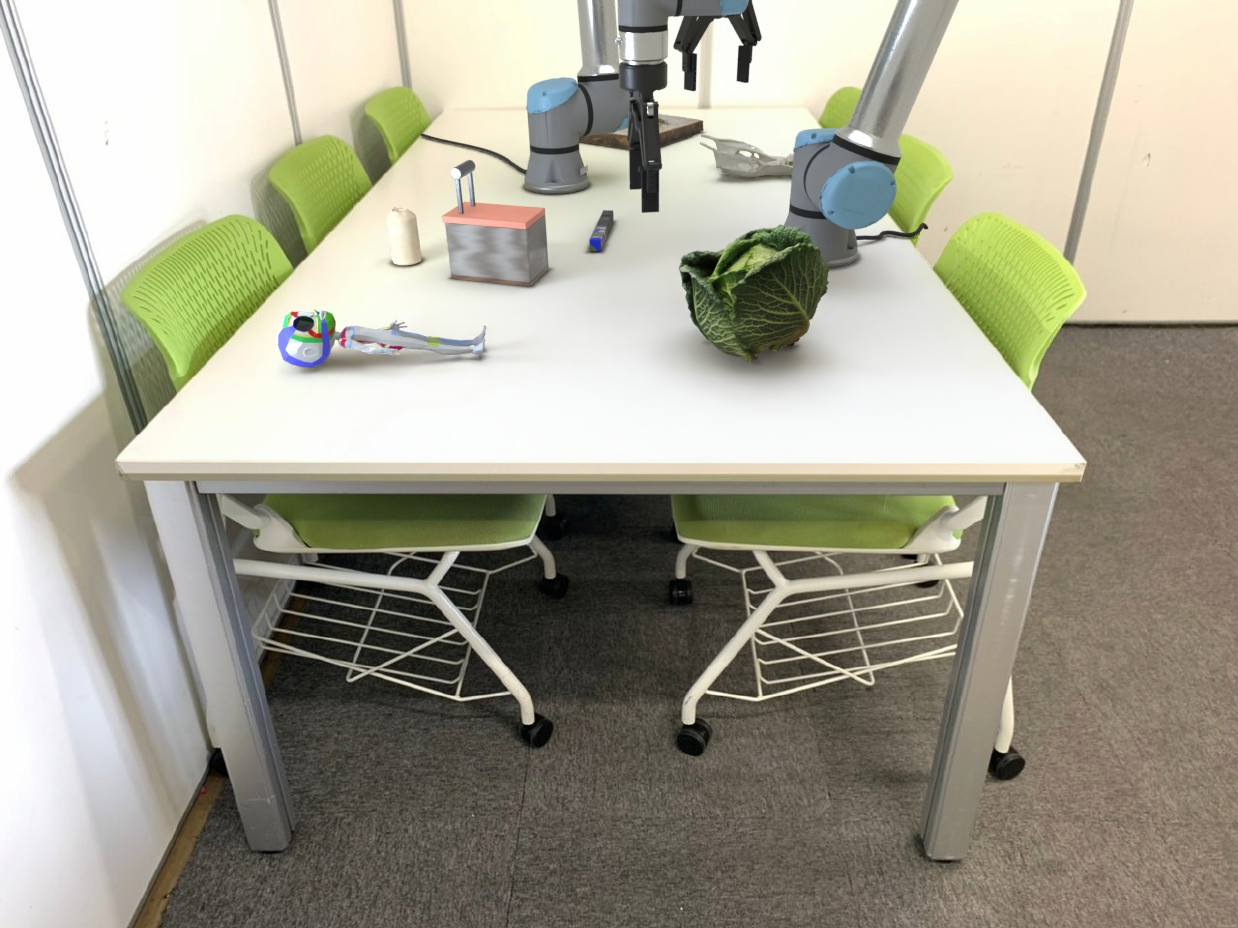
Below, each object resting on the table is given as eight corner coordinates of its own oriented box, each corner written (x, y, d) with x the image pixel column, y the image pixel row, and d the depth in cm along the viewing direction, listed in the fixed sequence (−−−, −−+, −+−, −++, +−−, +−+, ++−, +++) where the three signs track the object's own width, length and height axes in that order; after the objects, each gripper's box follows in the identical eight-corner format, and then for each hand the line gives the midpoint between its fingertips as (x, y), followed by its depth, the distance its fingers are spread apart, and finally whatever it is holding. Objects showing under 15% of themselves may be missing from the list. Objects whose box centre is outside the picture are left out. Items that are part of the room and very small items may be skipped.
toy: (485, 337, 129) (268, 320, 125) (482, 389, 134) (272, 374, 129) (486, 310, 138) (283, 293, 133) (484, 360, 142) (287, 345, 138)
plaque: (647, 125, 237) (559, 112, 252) (647, 153, 241) (560, 139, 256) (706, 107, 258) (622, 97, 273) (705, 133, 262) (622, 121, 277)
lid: (442, 222, 158) (435, 169, 153) (465, 207, 166) (459, 156, 161) (525, 229, 154) (521, 175, 149) (545, 214, 161) (542, 162, 156)
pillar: (613, 210, 190) (600, 241, 173) (613, 220, 191) (600, 251, 174) (603, 210, 190) (589, 240, 173) (603, 220, 191) (589, 251, 174)
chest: (451, 278, 164) (444, 223, 158) (473, 262, 171) (467, 208, 165) (530, 286, 159) (525, 230, 154) (548, 269, 167) (545, 214, 161)
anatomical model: (702, 130, 224) (803, 129, 220) (702, 168, 229) (801, 167, 225) (697, 145, 212) (805, 144, 208) (697, 184, 216) (802, 184, 213)
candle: (427, 257, 173) (420, 205, 168) (412, 267, 168) (405, 214, 163) (402, 254, 174) (394, 203, 169) (387, 264, 170) (378, 211, 165)
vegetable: (713, 374, 144) (652, 267, 136) (810, 307, 145) (755, 197, 138) (765, 401, 126) (698, 280, 118) (875, 325, 127) (816, 200, 119)
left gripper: (682, -34, 155) (679, 96, 166) (785, -41, 167) (776, 81, 178) (655, -36, 160) (654, 91, 171) (757, -43, 172) (750, 76, 183)
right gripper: (609, 50, 147) (612, 181, 159) (630, 75, 126) (632, 224, 138) (654, 48, 148) (653, 179, 159) (682, 73, 127) (680, 221, 138)
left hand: (716, 86), depth 175 cm, fingers open, 13 cm apart
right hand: (643, 200), depth 149 cm, fingers open, 13 cm apart
